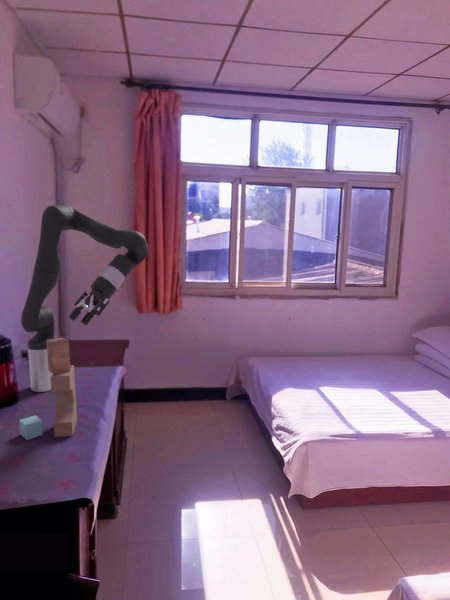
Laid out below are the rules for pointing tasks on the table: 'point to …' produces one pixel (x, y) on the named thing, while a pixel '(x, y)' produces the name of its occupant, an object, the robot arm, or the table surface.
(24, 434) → the teal cube
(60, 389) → the decorative block
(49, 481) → the table surface
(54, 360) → the tan long block
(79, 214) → the robot arm
